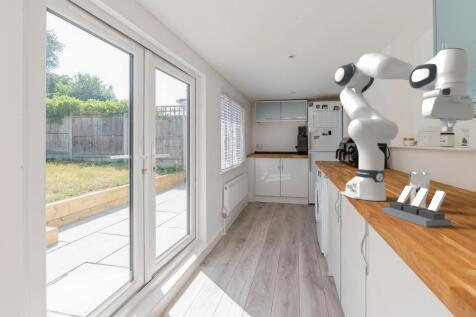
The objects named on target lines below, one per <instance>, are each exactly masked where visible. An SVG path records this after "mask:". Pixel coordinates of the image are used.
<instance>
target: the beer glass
mask: <svg viewBox="0 0 476 317" xmlns="http://www.w3.org/2000/svg"><path fill="white" fill-rule="evenodd" d="M430 179H431V178H430V173H429V172H421V171H410V172H409V174H408V186H412V187H413V190H412V192H411V193H410V195H409V203H408V204H410V205H411V206H412V203H413V201H414V199H415V198H416V196H417V194H418V192H419V191H420V189H421V188H423V189H428V190H429V189H430V181H431V180H430ZM429 191H430V190H429ZM427 196H428V195H427ZM427 196H426V197H425V199H424V201H423V203H422V205H421V206H420V207H421V208H425V209H427V204H426V202H427Z"/></svg>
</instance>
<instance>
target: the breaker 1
mask: <svg viewBox="0 0 476 317" xmlns="http://www.w3.org/2000/svg"><path fill="white" fill-rule="evenodd" d="M412 190H413V187H412V186H409V185H405V186H404V189H403V190H402V192H401V194H400V195H399V197H398V199H397V202H399V203H403V204H405V203H406V202H407V200H408V198H410V193H411V192H412Z"/></svg>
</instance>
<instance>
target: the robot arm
mask: <svg viewBox="0 0 476 317" xmlns="http://www.w3.org/2000/svg"><path fill="white" fill-rule="evenodd" d="M468 62H469V60H468V52H467V50H465V49H463V48H459V47H449V48H448V47H447V48H444V49H441V50H439V51H438V53H436V54H435V56H434V57H432V58H431V59H430V60H428V61H426V62H425V63H423V64H420V65H414V64H411V63H408V62H406V61H403V60H401V59H399V58H396V57H394V56H392V55H390V54H386V53H381V52H380V53H379V52H369V53H365V54H363V55H362V56H361V57H359V60H358V62H357V63H354V62H349V63H348V64H344V65H341V66H340V67H338V68H337V69H336V71H335V72H334V75H333V78H334V83H335V84H336V85H338V86H340V87H345V88H344V89H343V90H342V91H341V92H340V93H339V99H340V102H341V106H342V107H343V109H344V111H345V112H346V114H347V115H348V116H349V118H350V120H351V121H350V123H349V124H348V127H347V134H348V137H349V138H350V139H352V141H353V142H354V143H355V145H356V149H357V152H358V169H355V170H354V172H355V176H354V177H352V178H351V179H350V180H349V181H347V182H346V184H345V190H342V191H340V194H341V195H344V196H347V197H349V198H351V199H353V200H356V199H357V200H364V201H376V202H377V201H379V202H381V201H382V202H385V201H387V195H386V184H385V180H384V179H385V178H386V176H385V175H386V173H385V172H386V171H385V153H384V152H383V151H382V150H381V149H380V147H379V144H378V142H379V143H385V142H389V141H393V140H394V139H396V138H397V136H398V134H399V127H398V124H396V123H395V122H394V121H391V120H389V119H388V118H387V117H385V116H384V115H382V114H381V113H380V112H379V111H377V110H376V109H374V107H372V105H371V104H370V103H369V102H368V100H367V99H366V97H365V96H364V95H363V94H362V93H365V92H366V91H367V90H369V89H370V87H371V86H372V85H373V84H374V81H375V79H379V80H404V81H409V82H408V83H409V86H410V87H411V88H413V89H416V90H420V91H425V92H424V93H423V94H422V98H423V99H424V100H423V101H422V108H421V115H422V117H423V119H433V120H434V119H435V120H439V124H440V126H441V131H442V132H443V133H445V132H446V133H453V131H454V126H455V125H456V124H457V121H460V122H461V121H464V122H465V121H473V119H474V118H475V104H474V101H473V99H472V98H471V97H470V95H469V94H468V95H467V86H468V84H467V83H468V82H467V80H466V78H467V77H466V76H467V73H468V67H469V65H468V64H469V63H468Z"/></svg>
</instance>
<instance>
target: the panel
mask: <svg viewBox="0 0 476 317" xmlns="http://www.w3.org/2000/svg"><path fill="white" fill-rule="evenodd" d="M382 209H383V210H382V211H383V212H382V213H383V214H385V215H389V216H392V217H395V218H398V219H400V220H404V221H408V222H409V223H410V222H411V223H413V224H416V225H419V226H422V227H425V228H429V227H430V228H431V227H448V226H452V218H448V217H445V216H446V213H444V212H441V211H437V212H434V211H430V210H428V208H426V209H425V208H421V207H420V208H418V207H414V206H411V205H410V204H409V203H406V202H405V204H403V203H399V202H398V201H390V202H389V207H387V206H386V207H383V208H382Z"/></svg>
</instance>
